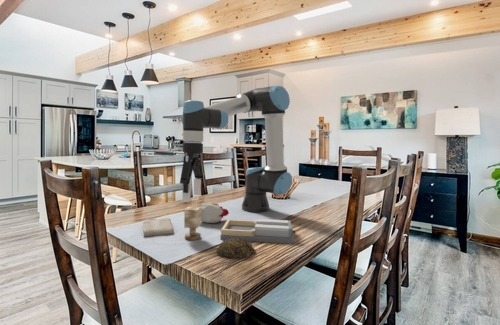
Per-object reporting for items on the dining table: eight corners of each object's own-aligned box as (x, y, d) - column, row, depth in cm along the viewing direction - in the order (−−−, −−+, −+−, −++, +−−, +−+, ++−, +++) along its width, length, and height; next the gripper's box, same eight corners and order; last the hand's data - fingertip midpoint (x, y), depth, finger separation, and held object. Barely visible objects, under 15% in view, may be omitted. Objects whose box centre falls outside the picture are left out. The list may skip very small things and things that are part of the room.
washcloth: (169, 222, 132) (169, 215, 132) (174, 235, 116) (174, 227, 115) (142, 224, 128) (142, 218, 128) (143, 238, 111) (143, 230, 111)
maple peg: (182, 239, 109) (182, 209, 108) (187, 234, 115) (187, 206, 114) (197, 240, 108) (198, 210, 107) (202, 235, 114) (202, 206, 113)
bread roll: (211, 256, 96) (211, 241, 95) (227, 243, 107) (228, 230, 107) (247, 262, 91) (247, 247, 91) (260, 248, 103) (260, 235, 102)
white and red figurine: (192, 221, 132) (217, 219, 142) (206, 226, 124) (232, 224, 134) (194, 201, 132) (219, 201, 142) (209, 205, 124) (234, 205, 134)
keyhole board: (220, 239, 111) (220, 226, 110) (228, 226, 126) (228, 215, 126) (293, 243, 107) (294, 231, 107) (292, 230, 123) (292, 219, 123)
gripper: (193, 142, 121) (192, 191, 123) (170, 142, 96) (170, 204, 98) (210, 142, 120) (209, 192, 122) (192, 142, 96) (191, 205, 97)
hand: (192, 197), depth 110 cm, fingers open, 13 cm apart
